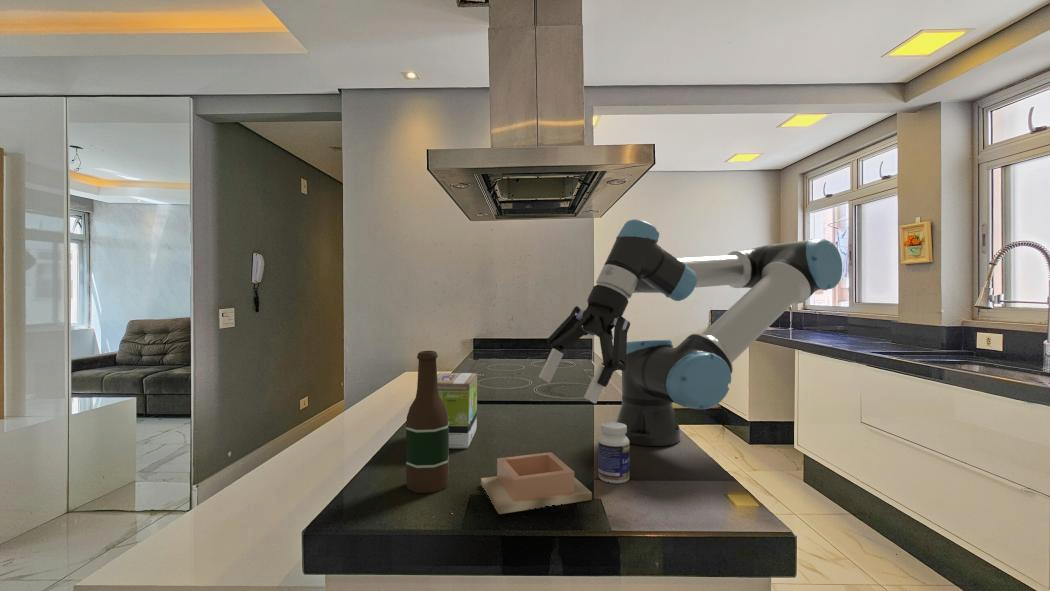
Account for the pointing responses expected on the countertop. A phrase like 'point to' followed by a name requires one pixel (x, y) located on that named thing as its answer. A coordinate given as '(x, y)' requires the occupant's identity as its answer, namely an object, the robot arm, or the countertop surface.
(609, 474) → the pill bottle
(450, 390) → the tea box
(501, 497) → the board
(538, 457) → the well
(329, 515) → the countertop surface
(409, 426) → the beer bottle
